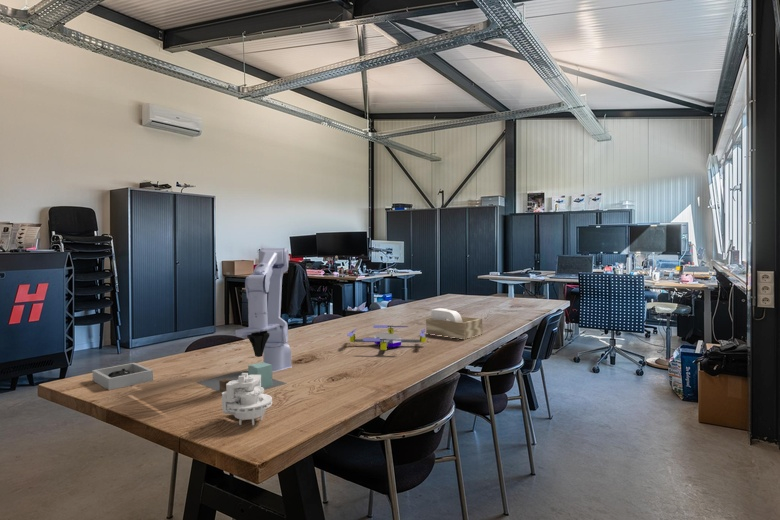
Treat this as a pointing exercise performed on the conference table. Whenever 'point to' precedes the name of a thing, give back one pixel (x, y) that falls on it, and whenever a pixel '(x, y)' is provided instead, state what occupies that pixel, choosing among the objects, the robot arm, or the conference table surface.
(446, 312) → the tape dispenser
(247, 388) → the mechanical part
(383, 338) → the quadcopter drone
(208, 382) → the mat
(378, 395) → the conference table surface
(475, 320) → the plywood crate
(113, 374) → the game controller
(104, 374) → the gray hollow frame
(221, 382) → the brown cube
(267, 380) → the pale aqua cube
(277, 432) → the conference table surface
